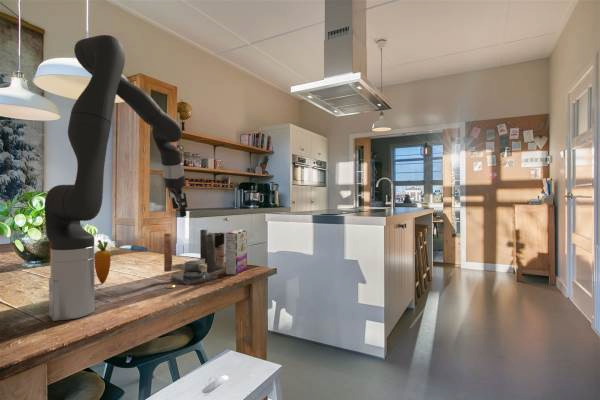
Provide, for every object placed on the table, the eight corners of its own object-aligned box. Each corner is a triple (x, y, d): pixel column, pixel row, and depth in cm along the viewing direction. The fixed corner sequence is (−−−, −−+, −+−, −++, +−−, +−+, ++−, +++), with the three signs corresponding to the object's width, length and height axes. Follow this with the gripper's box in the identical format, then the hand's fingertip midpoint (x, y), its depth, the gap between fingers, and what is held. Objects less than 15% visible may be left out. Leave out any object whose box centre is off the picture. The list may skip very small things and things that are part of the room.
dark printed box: (213, 270, 131) (213, 233, 131) (205, 267, 136) (205, 231, 136) (227, 267, 136) (227, 232, 136) (219, 264, 141) (219, 230, 140)
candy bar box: (236, 268, 135) (236, 229, 134) (247, 268, 134) (247, 229, 134) (224, 274, 124) (224, 232, 124) (236, 275, 123) (237, 232, 123)
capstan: (181, 279, 104) (181, 238, 104) (159, 270, 116) (159, 233, 116) (228, 270, 117) (229, 233, 117) (205, 262, 129) (205, 229, 129)
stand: (168, 288, 105) (168, 279, 105) (153, 281, 114) (153, 272, 113) (218, 278, 118) (218, 270, 118) (201, 272, 127) (201, 264, 127)
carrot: (113, 283, 110) (113, 240, 110) (96, 286, 107) (96, 241, 106) (108, 280, 114) (108, 238, 113) (92, 283, 110) (92, 240, 110)
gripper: (158, 171, 125) (164, 208, 132) (169, 182, 115) (176, 221, 122) (177, 167, 130) (182, 203, 136) (190, 177, 120) (195, 216, 126)
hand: (179, 212), depth 129 cm, fingers open, 8 cm apart
